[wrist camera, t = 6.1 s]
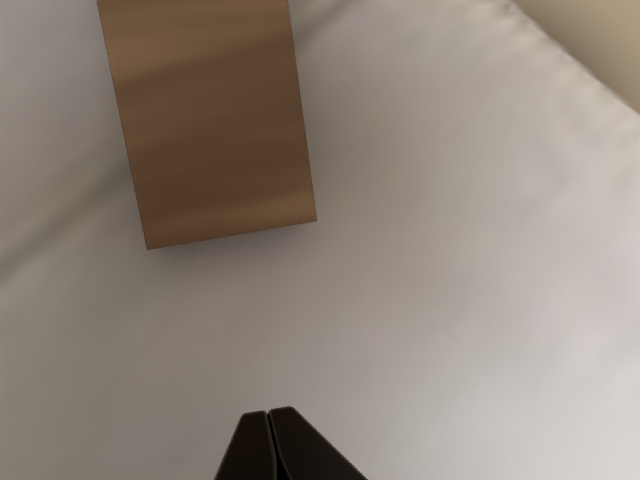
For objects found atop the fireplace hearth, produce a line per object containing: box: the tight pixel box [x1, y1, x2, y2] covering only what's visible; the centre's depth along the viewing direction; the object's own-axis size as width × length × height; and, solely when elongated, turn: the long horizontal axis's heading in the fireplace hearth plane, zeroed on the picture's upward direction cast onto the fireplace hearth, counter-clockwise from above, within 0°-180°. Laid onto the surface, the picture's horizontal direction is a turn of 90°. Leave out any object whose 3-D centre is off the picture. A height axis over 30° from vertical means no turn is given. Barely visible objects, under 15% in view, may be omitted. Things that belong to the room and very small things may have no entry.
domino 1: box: [97, 0, 317, 250], centre depth 18 cm, size 2×5×10 cm
